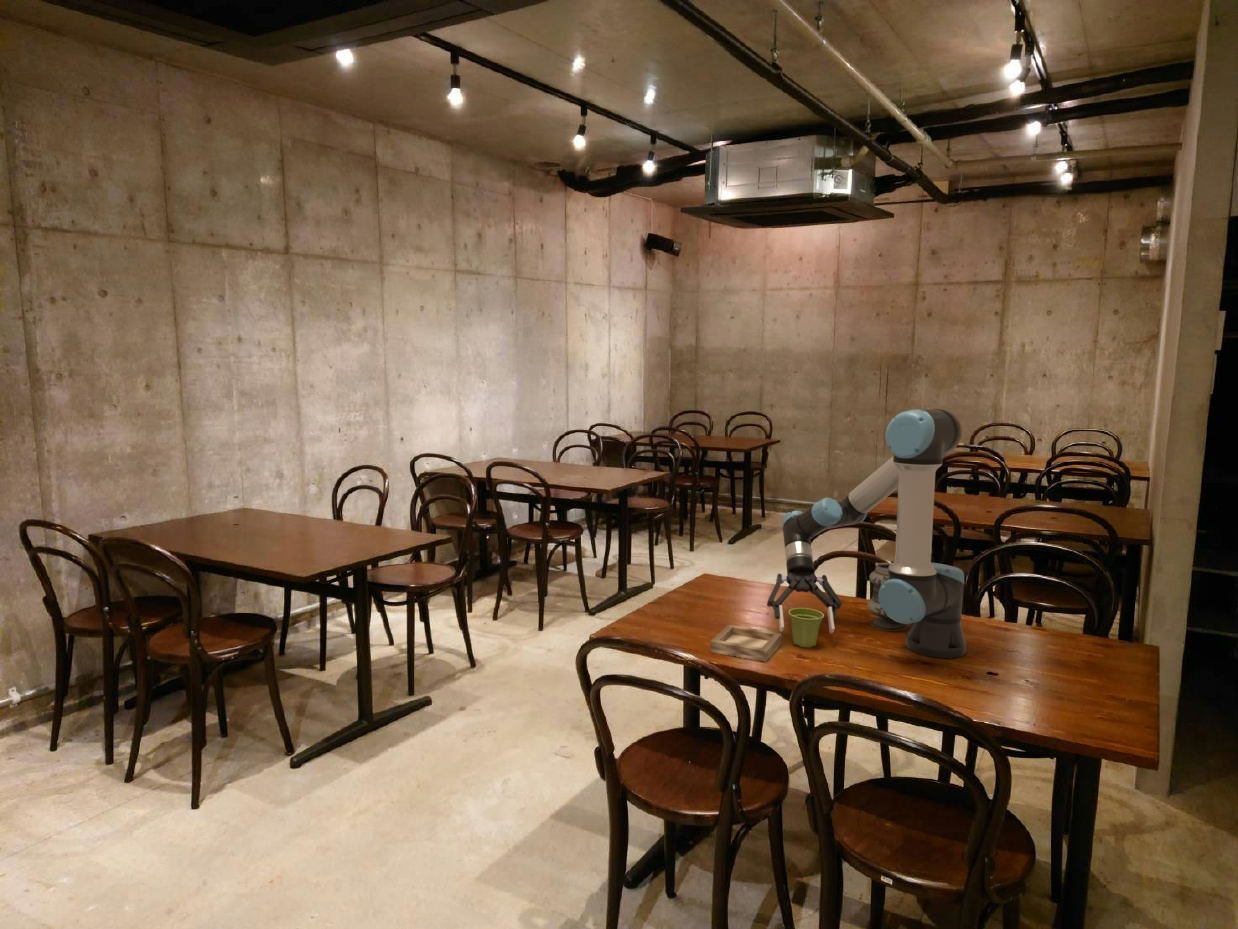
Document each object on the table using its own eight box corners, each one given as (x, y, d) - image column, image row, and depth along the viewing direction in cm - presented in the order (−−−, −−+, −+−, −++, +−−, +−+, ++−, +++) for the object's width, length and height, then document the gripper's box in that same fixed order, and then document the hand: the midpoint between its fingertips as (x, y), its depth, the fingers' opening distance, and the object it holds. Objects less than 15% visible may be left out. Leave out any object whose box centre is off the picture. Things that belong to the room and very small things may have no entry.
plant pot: (819, 638, 217) (821, 608, 216) (824, 651, 207) (826, 619, 206) (785, 637, 218) (786, 607, 216) (789, 649, 208) (790, 617, 207)
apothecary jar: (901, 619, 234) (905, 561, 232) (915, 633, 222) (920, 572, 220) (861, 618, 235) (864, 560, 232) (873, 632, 223) (877, 571, 220)
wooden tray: (781, 644, 212) (781, 633, 211) (765, 662, 199) (766, 651, 198) (728, 634, 218) (729, 624, 218) (710, 652, 205) (710, 641, 205)
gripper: (840, 569, 225) (850, 637, 212) (754, 566, 226) (758, 634, 213) (846, 555, 219) (856, 625, 206) (757, 553, 220) (762, 622, 207)
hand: (807, 630), depth 210 cm, fingers open, 13 cm apart
